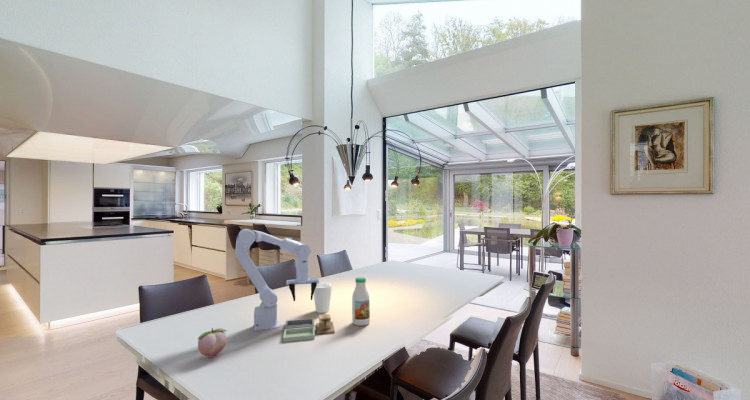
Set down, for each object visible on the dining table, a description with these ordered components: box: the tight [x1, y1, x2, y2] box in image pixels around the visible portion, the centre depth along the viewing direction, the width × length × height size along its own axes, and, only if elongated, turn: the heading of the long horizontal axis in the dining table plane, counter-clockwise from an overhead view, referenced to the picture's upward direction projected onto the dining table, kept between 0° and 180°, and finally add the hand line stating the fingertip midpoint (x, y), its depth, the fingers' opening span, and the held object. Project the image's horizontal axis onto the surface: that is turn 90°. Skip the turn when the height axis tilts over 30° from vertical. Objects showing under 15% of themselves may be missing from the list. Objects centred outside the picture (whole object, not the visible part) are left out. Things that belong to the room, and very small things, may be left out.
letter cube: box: [318, 313, 332, 329], centre depth 134 cm, size 4×5×4 cm
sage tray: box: [282, 326, 316, 343], centre depth 127 cm, size 12×9×2 cm
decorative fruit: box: [197, 327, 228, 358], centre depth 111 cm, size 9×8×10 cm
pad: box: [316, 321, 336, 336], centre depth 134 cm, size 7×11×1 cm, turn 12°
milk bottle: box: [351, 276, 371, 327], centre depth 141 cm, size 8×8×20 cm
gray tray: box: [284, 317, 315, 330], centre depth 137 cm, size 12×9×2 cm
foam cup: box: [313, 282, 333, 314], centre depth 157 cm, size 10×9×13 cm
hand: (303, 299), depth 146 cm, fingers open, 7 cm apart
